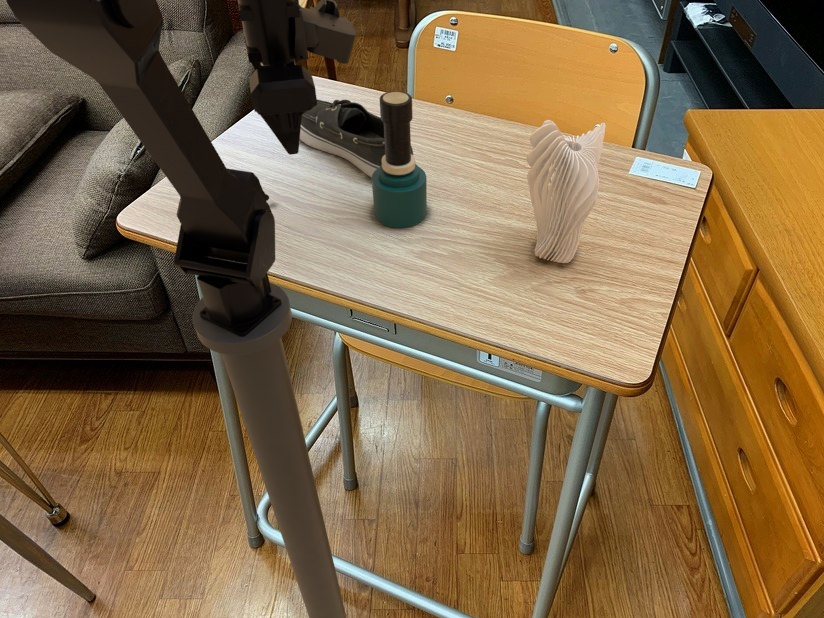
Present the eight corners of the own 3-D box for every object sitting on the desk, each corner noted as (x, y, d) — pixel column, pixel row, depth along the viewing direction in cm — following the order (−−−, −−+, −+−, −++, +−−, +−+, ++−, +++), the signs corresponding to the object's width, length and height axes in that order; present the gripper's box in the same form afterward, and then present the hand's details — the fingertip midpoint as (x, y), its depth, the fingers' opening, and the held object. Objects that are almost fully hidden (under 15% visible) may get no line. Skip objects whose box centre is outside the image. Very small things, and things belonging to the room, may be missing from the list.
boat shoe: (323, 111, 108) (318, 67, 103) (434, 171, 96) (435, 124, 91) (279, 130, 104) (271, 85, 99) (390, 194, 92) (387, 147, 86)
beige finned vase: (592, 239, 85) (620, 106, 72) (579, 278, 80) (607, 142, 67) (529, 226, 87) (546, 94, 74) (513, 263, 81) (528, 127, 69)
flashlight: (402, 170, 81) (400, 108, 75) (377, 161, 82) (373, 99, 77) (419, 156, 83) (418, 95, 78) (394, 148, 85) (391, 87, 79)
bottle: (408, 234, 85) (406, 180, 80) (364, 217, 88) (359, 163, 82) (436, 207, 89) (436, 154, 84) (393, 192, 92) (390, 140, 86)
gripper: (361, 16, 61) (372, 166, 72) (333, -44, 74) (346, 91, 85) (237, 26, 59) (268, 179, 70) (230, -38, 72) (257, 100, 83)
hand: (289, 133), depth 77 cm, fingers open, 9 cm apart
